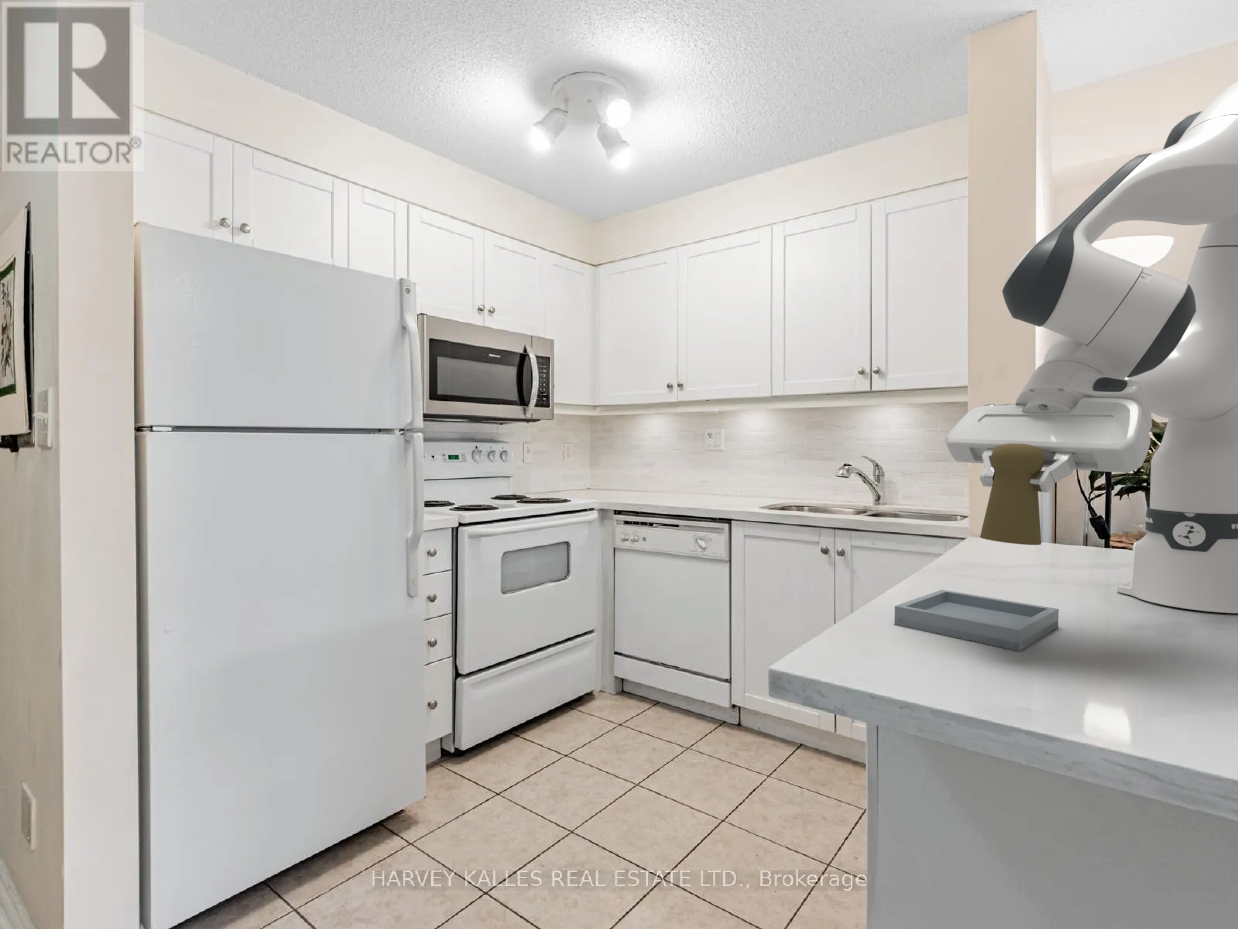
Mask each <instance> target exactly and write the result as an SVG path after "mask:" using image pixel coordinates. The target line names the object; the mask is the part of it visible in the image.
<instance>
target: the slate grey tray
mask: <svg viewBox="0 0 1238 929" xmlns="http://www.w3.org/2000/svg"><path fill="white" fill-rule="evenodd" d="M1059 616H1060V615H1059V608H1055V607H1048V606H1045V605H1044V606H1042V605H1037V604H1030V603H1025V602H1018V601H1014V600H1013V601H1012V600H1008V599H1007V600H1006V599H1001V598H995V597H988V596H983V595H978V594H971V593H965V592H958V591H952V590H947V589H946V590H945V589H940V590H936V591H934V592H931V593H928V594H926V595H922V596H920V597H917V598H914V599H911V600H908V601H905V602H903V603H900V604H896V605H894V625H896V626H902V627H904V628H909V629H914V630H919V631H923V632H924V631H925V632H929V633H934V634H937V633H938V634H937V635H941V636H946V637H951V638H955V637H956V638H955V639H960V638H961V640H964V639H965V640H966V641H969V640H972V641H971V642H974V641H976V642H975V643H978V642H979V644H983V643H986V644H985V645H988V644H990V645H989V646H992V645H993V647H998V648H1001V647H1002V649H1007V650H1011V651H1015V652H1020V651H1022V650H1023V649H1025V648H1027V647H1029V646H1030V645H1032V644H1034V643H1035V642H1037V641H1038V640H1040V639H1043V638H1044V637H1045V636H1047V635H1048V634H1050V633H1052V632H1053V631H1055V630H1056V629H1058V628H1059Z"/></svg>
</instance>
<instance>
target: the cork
mask: <svg viewBox="0 0 1238 929" xmlns="http://www.w3.org/2000/svg"><path fill="white" fill-rule="evenodd" d="M1044 459H1045V458H1044V453H1043V452H1042V450H1041V449H1040V448H1038V447H1036V446H1032V445H1028V444H1014V443H1010V444H1003V445H999V446H997V447H995V449H994V450H993V452H992V454H991V464H992V467H993V469H994V470H995V476H994V480H993V484H992V487H990V488H991V490H990V493H989V497H988V502H987V506H986V510H985V514H984V519H983V524H982V527H981V532H980V534H979V535H980V536H979V538H981V539H983V540H987V541H993V542H999V543H1005V544H1014V545H1026V546H1041V545H1042V533H1041V519H1040V501H1039V491H1035V490H1034V489H1033V487H1032V486H1031V485H1030V479H1031V477H1033V474H1034V473H1036V472H1037V471H1043V470H1042V469H1043V468H1044V467H1043V465H1044Z"/></svg>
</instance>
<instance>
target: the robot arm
mask: <svg viewBox="0 0 1238 929" xmlns="http://www.w3.org/2000/svg"><path fill="white" fill-rule="evenodd" d="M1126 221H1145V222H1156V223H1157V222H1158V223H1165V224H1173V225H1178V226H1179V225H1180V226H1198V225H1199V226H1201V225H1206V226H1205V229H1204V232H1203V234H1202V236H1201V238H1200V242H1199V244H1198V246H1197V250H1196V252H1195V256H1194V258H1193V262H1192V265H1191V268H1190V270H1189V274H1188V277H1187V280H1186V282H1185V281H1182V280H1181V279H1177V278H1175V277H1173V276H1171V275H1168V274H1166V273H1162V272H1160V271H1158V270H1155V269H1152V268H1150V267H1147V266H1142V265H1139V264H1137V263H1134V262H1131V261H1129V260H1126V259H1125V258H1124V259H1123V258H1120V257H1118V256H1115V255H1113V254H1110V253H1108V252H1105V251H1103V250H1100V249H1098V248H1096V247H1095V246H1093V245H1092V244H1094V243H1095V242H1096V241H1097V239H1099V238H1100V237H1101V236H1102V235H1103V234H1105V232H1106V231H1107V230H1108V229H1109V228H1111V226H1112V225H1114V224H1117V223H1120V222H1121V223H1122V222H1126ZM1002 296H1003V300H1004V303H1005V305H1006V308H1007V309H1008V312H1009V314H1010V315H1011V317H1012V318H1013V319H1014V320H1018V321H1021V322H1023V323H1027V324H1029V325H1034V326H1036V327H1042V328H1044V329H1046V330H1049V331H1052V332H1054V333H1056V334H1058V336H1057V337H1055V339H1054V341H1053V342H1052V343H1051V345H1050V347H1049V349H1048V350H1047V352H1046V353H1045V355H1044V358H1043V363H1041V365H1039V366H1038V367H1037V368H1036V369H1035V370H1034V372H1033V373H1032V374H1031V376H1030V378H1029V379H1028V381H1027V383H1026V384H1025V386H1024V387H1023V388H1022V390H1021V392H1020V393H1019V395H1018V396H1017V398H1016V401H1015V403H1003V404H995V403H988V404H983V405H982V406H981V405H980V406H977V407H974V408H973V409H971V410H969V411H968V412H966V414H965V415H964V416H962V418H961V419H960V420H959V421H958V422H957V423H956V424H955V425H954V427H953V428H952V429H951V430H950V432H948V434H947V435H946V437H945V444H946V448H947V450H948V452H949V454H950V455H951V457H952V458H953V460H954V461H955V462H960V463H971V464H973V463H974V464H975V463H976V464H983V465H984V466H983V467H984V468H983V470H982V472H981V473H980V476H979V480H980V482H981V484H982V486H983V487H986V488H987V487H988V488H992V484H993V480H994V476H995V470H994V469H993V467H992V464H991V454H992V452H993V450H994V449H995V447H997V446H999V445H1003V444H1010V443H1014V444H1028V445H1032V446H1036V447H1038V448H1040V449H1041V450H1042V452H1043V453H1044V458H1045V459H1044V465H1043V468H1045V469H1043V470H1041V471H1037V472H1036V473H1034V474H1033V477H1031V479H1030V485H1031V486H1032V487H1033V489H1034V490H1035V491H1038V493H1039V492H1040V493H1050V491H1051V490H1052V487H1053V486H1054V484H1055V483H1057V482H1060V481H1061V480H1063V479H1065V478H1067V477H1068V476H1070V475H1072V474H1073V472H1074V471H1075V470H1081V471H1093V472H1107V473H1109V472H1110V473H1122V474H1123V473H1124V474H1128V473H1131V472H1134V471H1136V470H1137V469H1139V468H1141V467H1142V465H1143V464H1144V462H1145V460H1146V458H1147V455H1148V452H1149V449H1150V445H1151V436H1150V431H1151V429H1152V427H1153V421H1152V420H1153V418H1152V414H1153V415H1156V416H1159V417H1161V418H1165V419H1167V424H1166V427H1165V430H1164V434H1163V437H1162V440H1161V443H1160V445H1159V446H1158V449H1157V450H1156V451H1155V453H1154V454H1153V456H1152V458H1151V462H1150V487H1149V488H1150V490H1149V492H1150V493H1149V507H1148V508H1146V513H1145V516H1144V522H1145V531H1147V532H1146V534H1145V535H1144V536H1143V537H1141V538H1140V539H1138V540H1137V541H1136V542H1134V543H1133V546H1132V556H1131V568H1130V579H1129V580H1130V581H1129V583H1123V584H1119V585H1117V591H1116V592H1118V593H1121V594H1124V595H1130V596H1133V597H1135V598H1137V599H1140V600H1143V601H1146V602H1150V603H1153V604H1158V605H1163V606H1166V607H1167V606H1168V607H1174V608H1180V609H1187V610H1193V611H1194V610H1195V611H1200V612H1201V611H1203V612H1213V613H1222V614H1223V613H1226V614H1238V80H1237V81H1235V82H1234V83H1233V84H1231V85H1229V86H1228V87H1227V88H1225V89H1224V90H1223V91H1221V93H1220V94H1218V95H1217V96H1216V97H1215V98H1213V100H1212V101H1210V103H1209V104H1207V106H1206V107H1204V109H1202V110H1201V111H1198V112H1194V113H1191V114H1190V115H1188V116H1186V117H1184V118H1183V119H1182V120H1181V121H1179V122H1178V123H1177V124H1176V125H1174V126H1173V128H1172V129H1171V131H1170V132H1169V134H1168V136H1167V138H1166V141H1165V142H1164V144H1163V147H1162V149H1161V150H1157V151H1155V152H1149V153H1143V154H1138V155H1136V156H1135V157H1133V158H1132V159H1130V160H1128V161H1127V162H1126V163H1125V164H1123V165H1122V166H1121V167H1120V168H1118V169H1117V170H1116V171H1115V172H1114V173H1113V174H1112V175H1111V176H1110V177H1108V178H1107V179H1106V180H1105V181H1104V182H1103V183H1102V184H1101V185H1100V186H1099V187H1098V188H1097V189H1095V190H1094V191H1093V192H1092V193H1091V194H1090V195H1089V196H1088V197H1087V198H1086V199H1085V200H1084V201H1083V202H1082V203H1081V204H1080V205H1078V207H1077V208H1075V209H1074V211H1072V212H1071V213H1070V215H1068V216H1067V217H1066V218H1065V219H1064V220H1063V221H1062V222H1061V223H1060V224H1059V225H1057V227H1055V228H1054V229H1053V230H1052V231H1050V232H1049V233H1047V234H1046V235H1045V236H1044V237H1043V238H1042V239H1040V240H1039V241H1038V242H1037V243H1036V244H1035V245H1034V246H1032V247H1030V248H1029V249H1028V250H1027V251H1026V252H1025V253H1023V255H1022V256H1020V258H1019V259H1018V260H1017V261H1016V263H1015V264H1014V265H1013V267H1012V268H1011V270H1010V271H1009V273H1008V275H1007V278H1006V279H1005V283H1004V286H1003V288H1002ZM1126 378H1127V379H1126Z"/></svg>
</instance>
